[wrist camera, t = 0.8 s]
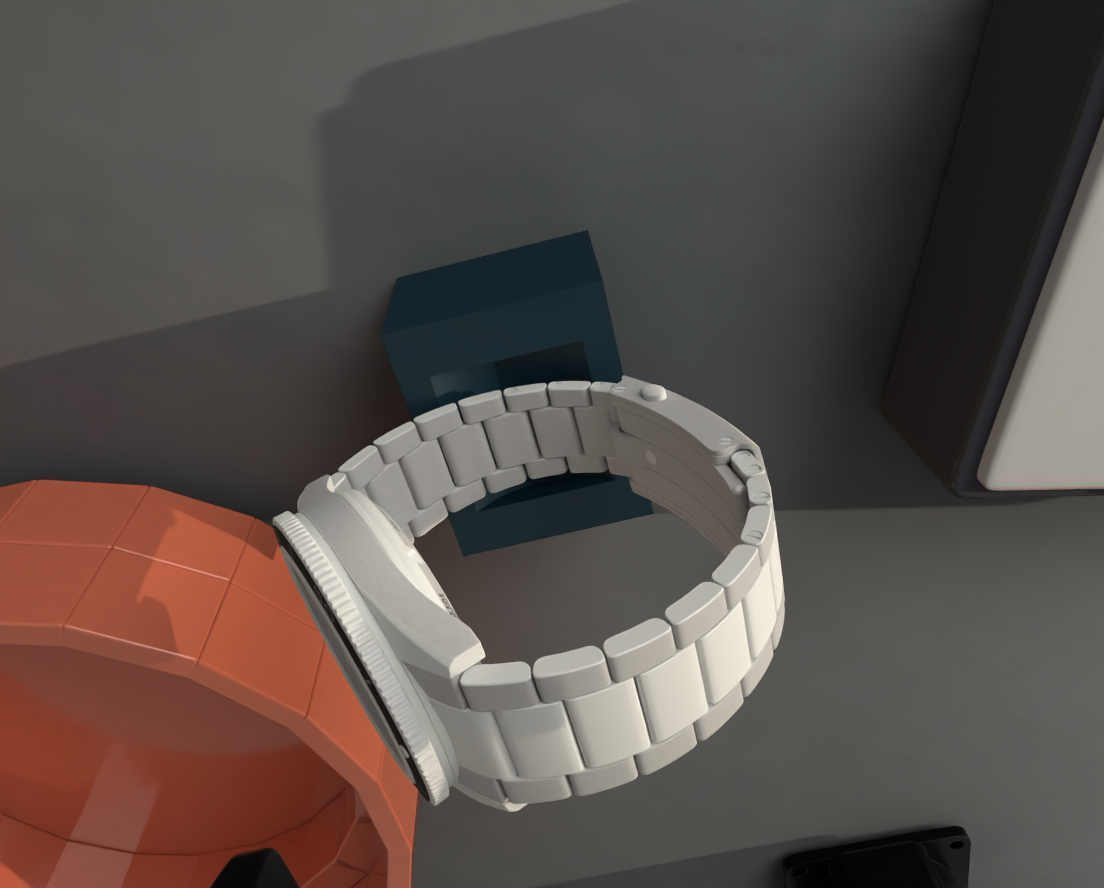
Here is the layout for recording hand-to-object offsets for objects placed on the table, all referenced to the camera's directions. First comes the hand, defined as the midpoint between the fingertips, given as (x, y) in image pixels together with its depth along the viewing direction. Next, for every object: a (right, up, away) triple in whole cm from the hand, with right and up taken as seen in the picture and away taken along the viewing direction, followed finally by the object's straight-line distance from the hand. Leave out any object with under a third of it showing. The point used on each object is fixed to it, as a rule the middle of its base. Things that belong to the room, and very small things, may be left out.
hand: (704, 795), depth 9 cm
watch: (-2, +5, +12) cm, 13 cm away
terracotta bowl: (-13, -4, +16) cm, 22 cm away
